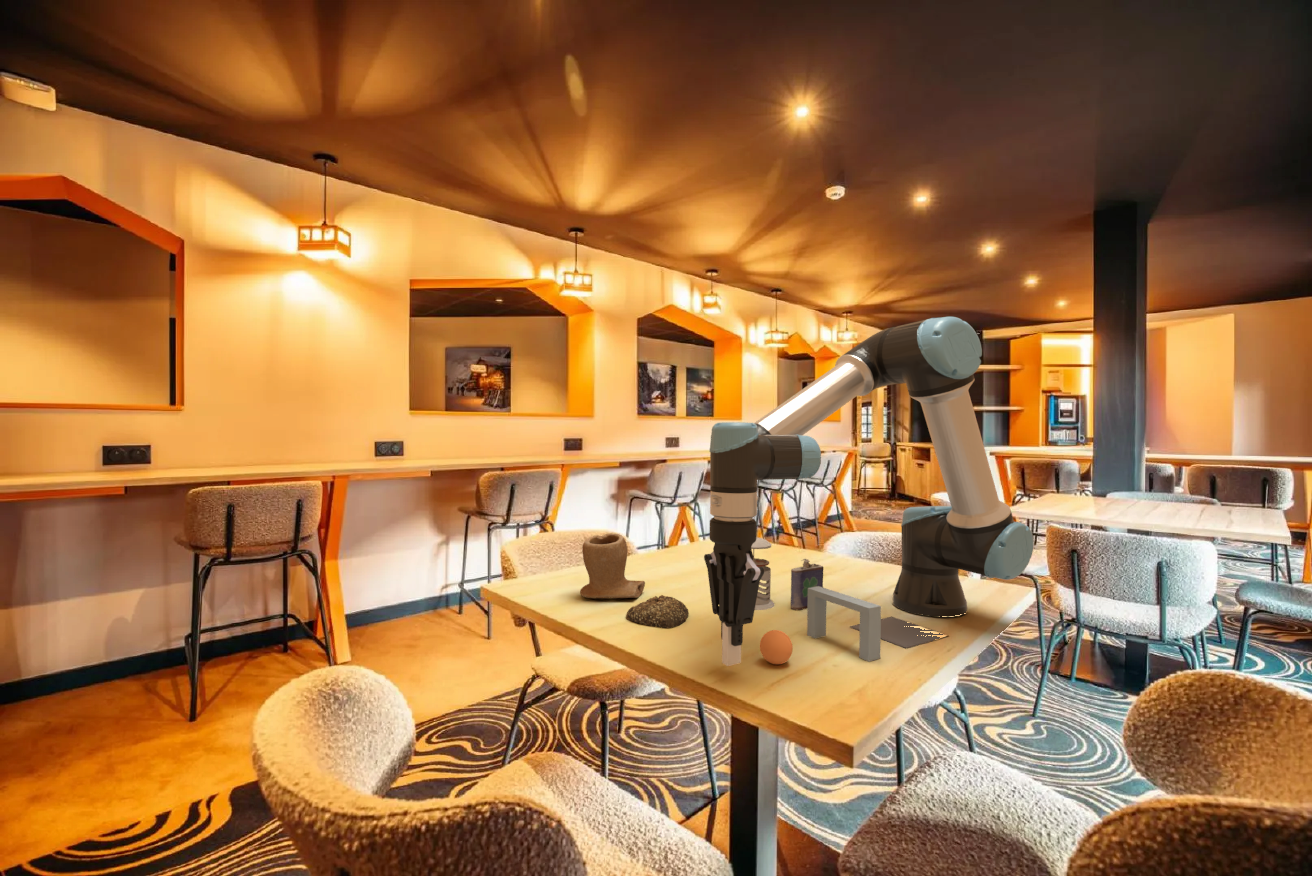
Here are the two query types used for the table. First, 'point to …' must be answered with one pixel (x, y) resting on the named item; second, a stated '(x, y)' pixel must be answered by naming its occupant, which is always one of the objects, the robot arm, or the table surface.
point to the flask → (804, 583)
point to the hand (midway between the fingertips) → (731, 662)
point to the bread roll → (659, 612)
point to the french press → (763, 599)
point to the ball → (776, 647)
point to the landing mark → (902, 633)
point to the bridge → (868, 611)
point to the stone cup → (608, 568)
